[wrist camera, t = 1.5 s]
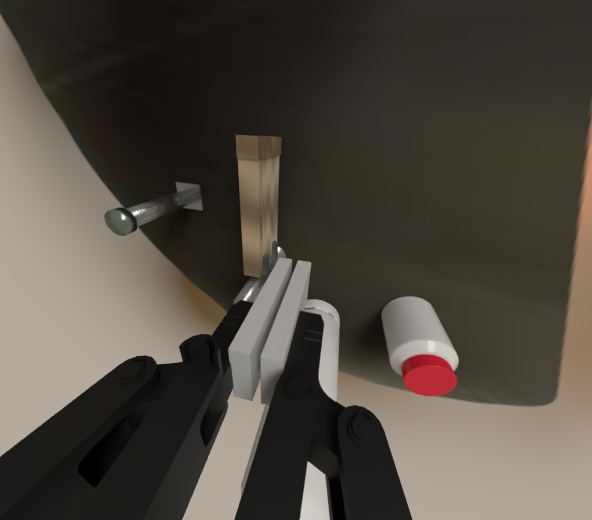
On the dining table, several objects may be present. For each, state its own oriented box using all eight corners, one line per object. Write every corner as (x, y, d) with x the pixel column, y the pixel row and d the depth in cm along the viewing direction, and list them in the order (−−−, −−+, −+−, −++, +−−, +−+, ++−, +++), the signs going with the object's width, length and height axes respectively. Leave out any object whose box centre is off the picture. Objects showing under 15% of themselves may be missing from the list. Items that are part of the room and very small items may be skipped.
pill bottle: (435, 332, 35) (468, 403, 26) (383, 335, 38) (396, 401, 28) (434, 293, 32) (470, 357, 23) (378, 299, 35) (390, 359, 25)
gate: (280, 251, 33) (262, 281, 26) (264, 249, 33) (243, 278, 26) (284, 137, 26) (261, 137, 19) (265, 135, 26) (235, 134, 19)
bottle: (288, 326, 41) (206, 593, 17) (300, 293, 37) (213, 583, 13) (330, 340, 41) (307, 633, 17) (346, 308, 37) (348, 637, 12)
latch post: (178, 181, 32) (94, 202, 21) (201, 184, 31) (127, 207, 21) (182, 206, 33) (107, 237, 23) (205, 209, 33) (138, 242, 22)
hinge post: (259, 240, 34) (221, 285, 23) (287, 245, 33) (261, 293, 23) (259, 265, 36) (224, 316, 26) (286, 270, 35) (261, 324, 25)
